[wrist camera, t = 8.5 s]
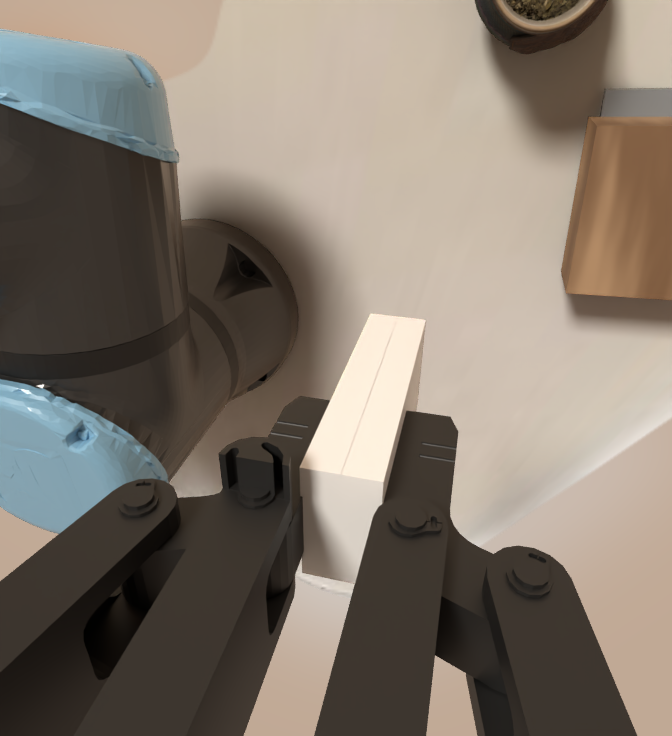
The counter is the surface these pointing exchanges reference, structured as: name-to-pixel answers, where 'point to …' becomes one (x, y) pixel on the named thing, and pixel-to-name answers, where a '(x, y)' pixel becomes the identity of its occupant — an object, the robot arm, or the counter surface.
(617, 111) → the mat
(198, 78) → the counter surface
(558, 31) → the mate gourd
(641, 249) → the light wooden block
